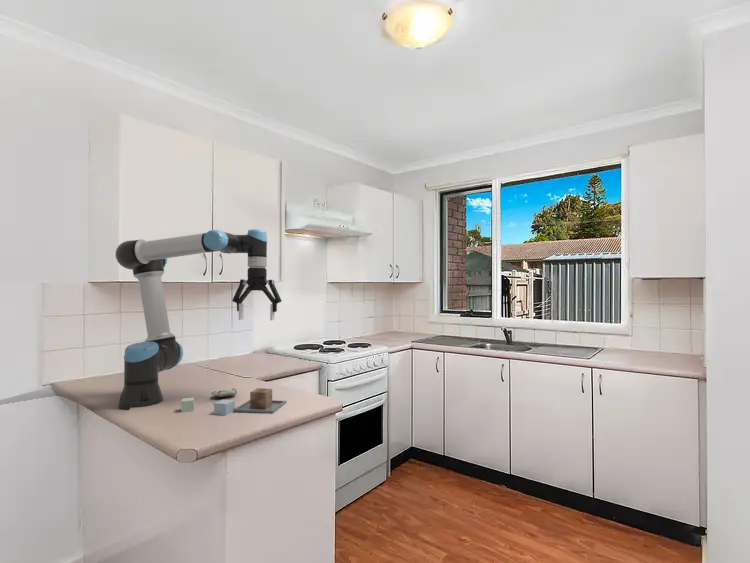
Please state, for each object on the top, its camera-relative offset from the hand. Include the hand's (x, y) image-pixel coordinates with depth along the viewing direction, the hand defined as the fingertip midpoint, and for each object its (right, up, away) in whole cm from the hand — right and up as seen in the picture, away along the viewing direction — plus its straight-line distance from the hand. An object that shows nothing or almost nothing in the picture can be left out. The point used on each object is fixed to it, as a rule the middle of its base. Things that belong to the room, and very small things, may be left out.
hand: (256, 319), depth 178 cm
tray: (+6, -31, -16) cm, 36 cm away
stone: (-9, -31, -3) cm, 33 cm away
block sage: (-20, -31, -19) cm, 42 cm away
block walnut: (+6, -31, -17) cm, 35 cm away
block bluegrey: (-5, -31, -22) cm, 39 cm away
